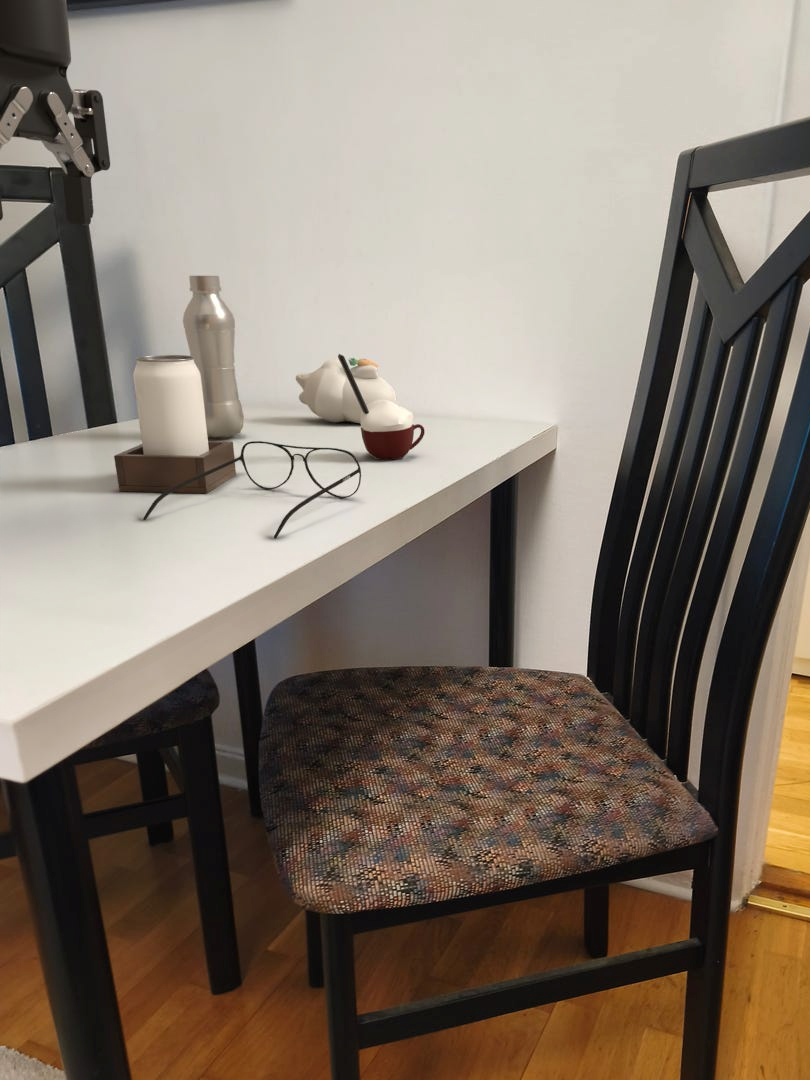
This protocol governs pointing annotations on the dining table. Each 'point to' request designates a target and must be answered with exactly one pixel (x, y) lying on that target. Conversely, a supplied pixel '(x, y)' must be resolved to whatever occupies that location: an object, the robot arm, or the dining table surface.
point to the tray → (174, 469)
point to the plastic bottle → (214, 355)
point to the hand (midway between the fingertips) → (36, 222)
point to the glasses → (273, 487)
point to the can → (170, 405)
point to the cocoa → (384, 424)
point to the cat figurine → (343, 390)
